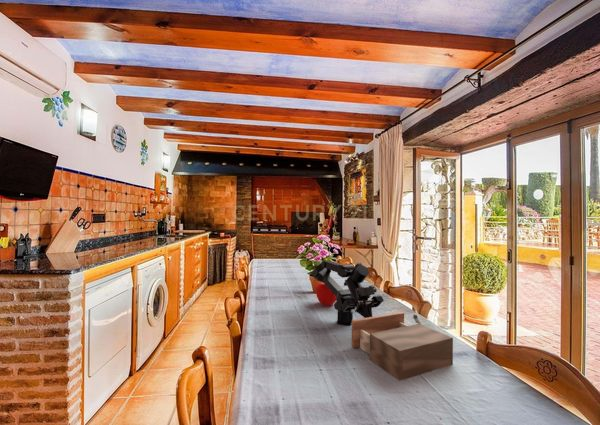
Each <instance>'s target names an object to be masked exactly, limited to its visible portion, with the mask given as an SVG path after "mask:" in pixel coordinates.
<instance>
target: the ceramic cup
mask: <svg viewBox="0 0 600 425" xmlns="http://www.w3.org/2000/svg"><path fill="white" fill-rule="evenodd" d="M315 294H316V298H317V300H318V301H319V303H320V304H321V305H322V306H325V307H326V306H327V307H331V306H334V304H335V302H336V301H337V297H336V296H335V295H334V294H333V293H332V292H331V291H330V290H329V288H328V287H327V286H326V285H325V284H324V283H321V284H320V283H319V284H317V285H315Z"/></svg>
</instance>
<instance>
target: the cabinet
mask: <svg viewBox="0 0 600 425" xmlns="http://www.w3.org/2000/svg"><path fill="white" fill-rule="evenodd" d="M453 357H454V337H452V336H449V335H447V334H444V333H443V332H440V331H438V330H435V329H433V328H430V327H428V326H426V325H424V324H422V323H421V324H417V323H416V324H411V325H408V326H406V327H401V328H396V329H391V330H386V331H380V332H375V333H370V355H369V361H371V362H373V363H374V364H375V365H377V366H378V367H379V368H381V369H382V370H383V371H385V372H387V373H388V374H389V375H391V376H392V377H394V378H395V379H397V380H398V381H403V380H407V379H410V378H413V377H415V376H419V375H423V374H426V373H429V372H433V371H436V370H440V369H443V368H447V367H449V366H450V367H451V366H453V364H454V358H453Z"/></svg>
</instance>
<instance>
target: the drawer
mask: <svg viewBox="0 0 600 425" xmlns="http://www.w3.org/2000/svg"><path fill="white" fill-rule="evenodd" d="M406 326H409V325H408V324H405V312H403V311H399V312H393V313H387V314H382V315H381V314H380V315H375V316H372V317H368V318H364V317H363V318H357V319H353V320H352V323H351V348H353V349H357V348H359V349H361V350H362V351H363V352H365V353H366V354H368V355H369V356H370V333H375V332H380V331H386V330H391V329H396V328H401V327H406Z"/></svg>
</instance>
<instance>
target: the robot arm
mask: <svg viewBox="0 0 600 425" xmlns="http://www.w3.org/2000/svg"><path fill="white" fill-rule="evenodd" d="M332 272H335V273H337V274H336V275H338V276H339V277H341V278H346V279H344V283H343V286H344V287H345V286H347V289H346V288H345V289H343V288H342V286H340V284H339V283H338V282H336V280H334V279H333V278H332V277H331V273H332ZM369 275H370V270H369V268H368V267H367V266H365V265H363V264H362V263H361V262H360V263H359V262H357V263H356V264H355V265H354V264H353V263H352V264H351V263H350V264H349V263H348V264H341V263H338V262H336V261H335V262H334V261H332V260H330V259H329V260H327V259H326V260H322V261H321V262H320V263H319V264H317V266H315V267H314V269H313V271H312V276H313V278H314V279H315V280H316V281H318V282H321V283H322V284H325V285H326V286H327V287H328V288H329V290H330V291H331V292H332V293H333V294H334V295H335V296H336V297H337V300H336V301H335V303H334V304H333V308H334V309H335V310H336V311H337V321H336V324H337V325H344V326H345V325H346V326H352V320H354V318H353V317H354V312H355V313H357V314H359V315H360V316H362V317H363V318H368V317H373V311H372V310H373V308H378V307H379V306H380V305H381V304H382V303H383V302H384V301H385V300H384V298H383V296H382V295H375V294H376V293H377V292H378V291H377V290H378V289H377V287H376V286H375V285H374V284H370V285H369V286H368V287H367V286H366V287H365V286H362V283H364V282H365V281H366V279H367V277H369ZM371 296H372V297H371ZM353 310H354V312H353Z"/></svg>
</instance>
